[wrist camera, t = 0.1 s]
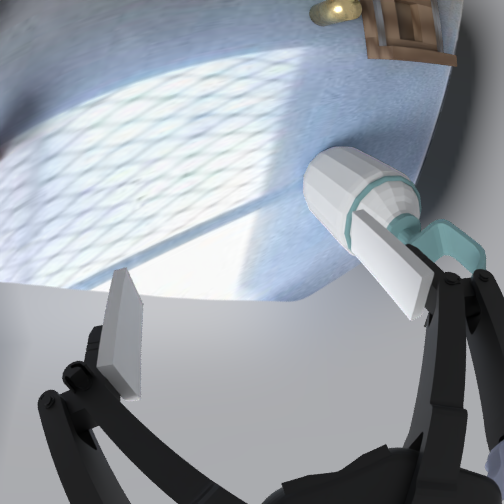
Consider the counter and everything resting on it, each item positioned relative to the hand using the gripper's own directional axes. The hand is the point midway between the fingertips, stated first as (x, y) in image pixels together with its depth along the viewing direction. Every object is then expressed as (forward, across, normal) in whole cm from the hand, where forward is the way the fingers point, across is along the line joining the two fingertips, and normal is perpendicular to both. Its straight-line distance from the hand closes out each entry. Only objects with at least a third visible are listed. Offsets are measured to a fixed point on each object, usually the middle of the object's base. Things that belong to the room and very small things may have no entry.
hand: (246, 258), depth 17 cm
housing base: (+28, +33, +22) cm, 49 cm away
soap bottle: (+28, +19, -9) cm, 35 cm away
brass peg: (+28, +19, +17) cm, 38 cm away
